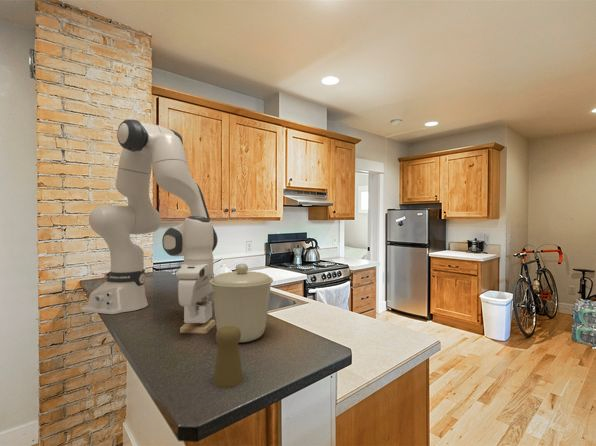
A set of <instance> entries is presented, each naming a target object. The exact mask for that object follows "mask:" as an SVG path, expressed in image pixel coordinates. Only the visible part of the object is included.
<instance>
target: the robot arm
mask: <svg viewBox="0 0 596 446" xmlns="http://www.w3.org/2000/svg"><path fill="white" fill-rule="evenodd" d="M116 134H117V135H116V137H117V142H118V143H119V145H120V146H121V148H122V149H121V150H122V151H121V152H120V153H121V154H120V156H119V161H118V165H117V167H118V168H117V172H116V173H117V174H116V180H115V188H116V190H117V192H118V193H120V195H122V196H124V197H126V198H127V205H113V204H112V205H111V204H110V205H102V206H97V207H95V208H93V209H92V211H91V212H90V214H89V217H88V224H89V226H90V228H91V230H92V231H94V233H96V234H97V235H99V236H100V237H101V238H102V239H103V240H104V242H105V243H106V245H107V247H108V250H109V256H110V271H109V272H106V273H104V274H103V275H104V276H103V278H105V282H104V283H102V284H101V285H99V286H98V287H97V288H95V289H94V290H93V291H91V293H90V294H89V297H88V302H87V304H85V305H83V306H82V307H81V308H80V312H84V313H94V314H107V315H116V314H121V313H127V312H133V311H137V310H140V309H141V310H142V309H144V308H146V307H148V306H149V303H148V300H147V295H146V290H145V280H146V270H145V269H144V266H145V265H144V262H145V261H144V259H145V255H144V254H145V253H144V250H143V248H142V247H141V246H139V245H138V244H135V243H134V242H133V241H132V239H131V236H130V235H147V234H151V233H154V232H157V231H158V230H159V228H160V226H161V224H162V216H161V214H160V213H159V211H158V210H157V209H156V208H155V206H154V205H153V204H152V201H151V198H150V185H151V184H150V182H151V176H152V172H153V177H154V179H155V182H156V184H157V186H158V187H160V188H161V189H162V190H164V191H165V192H167V193H170V194H171V195H174V196H175V197H178V198H180V200H182V201H183V202H184V203H185V204H187V206H188V208H189V212H190V216H186V217H185V219H184V221H183V222H181V223H180V224H177V225H176V226H172V227H169V228H168V229H166V231H165V232H164V233H163V236H162V242H161V243H162V248H163V250H164V251H165V253H166V254H167V255H169V256H171V257H183V264H182V265H181V267H180V268H179V269H178V270H177V271H176V278H177V279H179V280H178V282H177V283H178V284H177V293H178V294H177V295H178V296H177V298H178V304H179V305H180V307H184V306H188V309H189V312H190V317H191V318H195V317H196V316H197V310H196V303H197V302H198V301H209V295H210V294H213V292H212V285H211V284H210V283H209V281H210V280H211V279H213V278H214V277H215V274H214V255H213V252H214V251H215V249H216V248H217V246H218V240H219V239H218V235H217V232H216V230H215V228H214V226H213V223H212V220H211V218H210V214H209V211H208V208H207V205H206V201H205V199H204V195H203V192H202V190H201V187H200V185H199V184H198V183H197V182H196V181H195V179H194V178H193V177H192V174H191V172H190V170H189V168H190V167H189V165H188V159H187V154H186V150H185V148H184V141H183V137H182V135H181V134H179V133H178V132H177V131H175V130H173V129H170V128H166V127H164V126H162V125H159V124H154V123H148V122H145V121H139V120H138V119H124V120H123V121H122V122H121V123H120V124H119V125H118V128H117V132H116Z"/></svg>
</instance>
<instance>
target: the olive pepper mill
mask: <svg viewBox="0 0 596 446" xmlns="http://www.w3.org/2000/svg"><path fill="white" fill-rule="evenodd" d="M214 337H215V341H216V344H217V351H216V359H215V367H214V373H213V380H212V382H213V385H214V386H216V387H218V388H223V389H225V388H228V389H229V388H232V387H235V386H238V385H239V384H241V383H242V381H243V378H244V377H243V369H242V361H241V355H240V347H239V344H240V343H239V341H240V338H241V332H240V330H239V328H237V327H235V326H225V327H221V328H220V329H218V331H217V330H216V333H215V336H214Z"/></svg>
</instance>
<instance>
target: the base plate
mask: <svg viewBox="0 0 596 446" xmlns="http://www.w3.org/2000/svg"><path fill="white" fill-rule="evenodd" d="M215 326H216V319H209V320H208V321H207V322H206V323H184V324H182V325H181V326H180V328H179V333H180V334H181V333H182V334H208V333H209V332H210V331H211V329H213V328H214V327H215Z"/></svg>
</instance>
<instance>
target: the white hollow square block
mask: <svg viewBox="0 0 596 446" xmlns="http://www.w3.org/2000/svg"><path fill="white" fill-rule="evenodd" d="M183 307H184V308H183V319H184V320H183V323H184V324H186V323H206V322H207V321H208V320H211V318H212V317H213V300H207V301H201V300H200V301H198V302H197V303H196V310H197V316H196V317H195V318H191V317H190V312H189V309H188V306H183Z"/></svg>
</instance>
